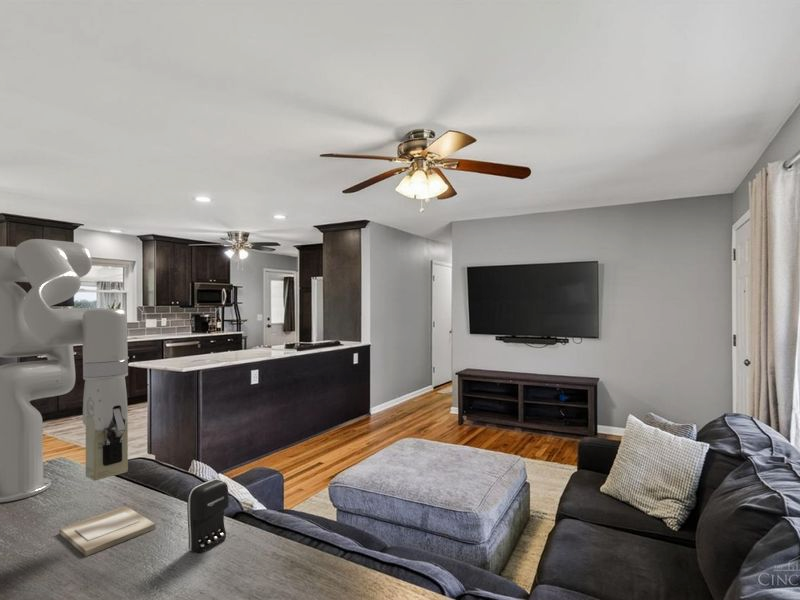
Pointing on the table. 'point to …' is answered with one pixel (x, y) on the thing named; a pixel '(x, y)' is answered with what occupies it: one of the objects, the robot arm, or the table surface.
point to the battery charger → (207, 514)
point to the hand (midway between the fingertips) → (107, 460)
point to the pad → (106, 530)
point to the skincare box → (95, 453)
